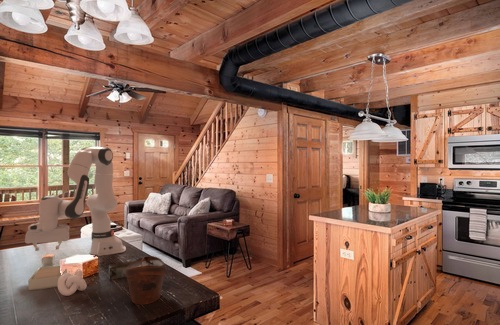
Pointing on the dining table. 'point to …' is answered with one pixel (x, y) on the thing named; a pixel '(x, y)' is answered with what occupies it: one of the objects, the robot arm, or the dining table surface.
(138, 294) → the brown bucket
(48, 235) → the robot arm
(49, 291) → the dining table surface
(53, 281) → the tote
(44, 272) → the beige rectangular block
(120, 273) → the beverage carton
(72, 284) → the pretzel
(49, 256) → the copper capped metal stub
